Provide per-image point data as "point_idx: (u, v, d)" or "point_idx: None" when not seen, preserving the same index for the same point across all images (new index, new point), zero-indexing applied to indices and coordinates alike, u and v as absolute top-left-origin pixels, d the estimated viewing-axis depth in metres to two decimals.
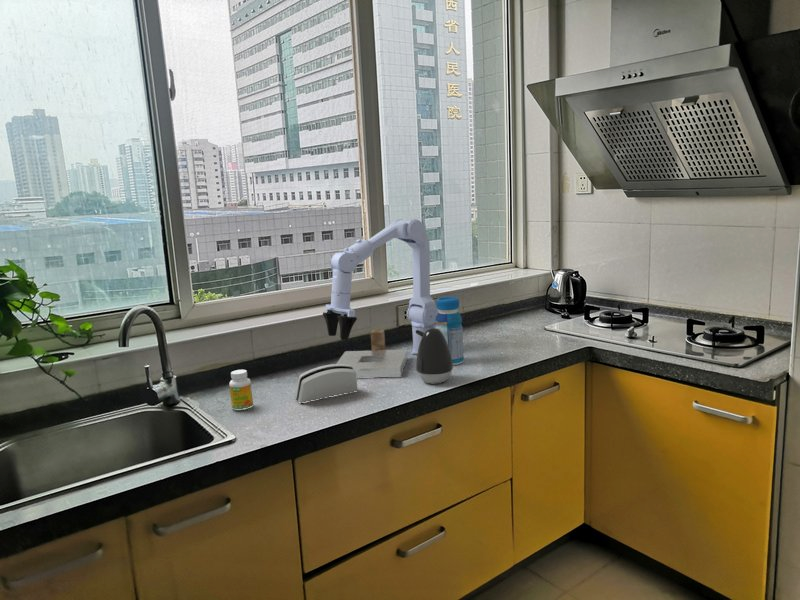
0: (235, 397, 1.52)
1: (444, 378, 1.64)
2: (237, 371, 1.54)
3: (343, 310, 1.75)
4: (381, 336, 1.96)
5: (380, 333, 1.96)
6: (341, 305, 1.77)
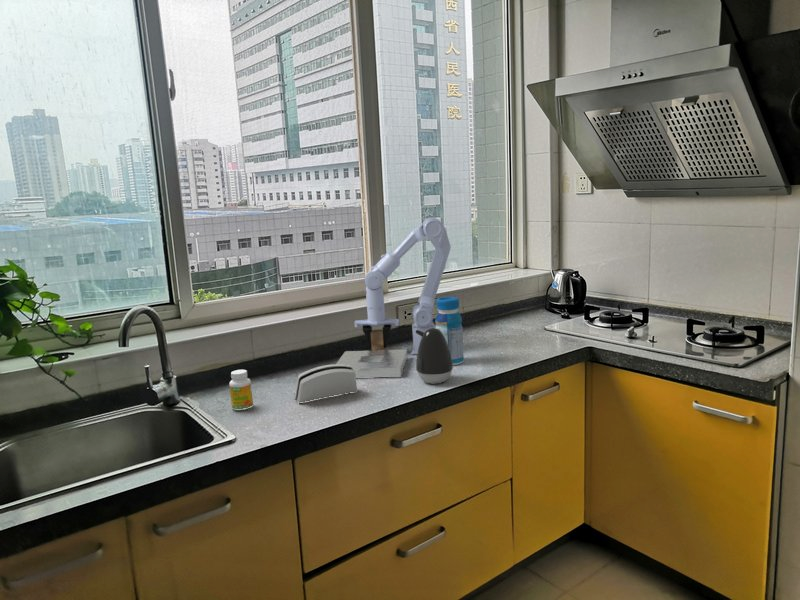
0: (235, 397, 1.52)
1: (444, 378, 1.64)
2: (237, 371, 1.54)
3: (390, 321, 1.95)
4: (381, 336, 1.96)
5: (380, 333, 1.96)
6: (383, 317, 1.96)
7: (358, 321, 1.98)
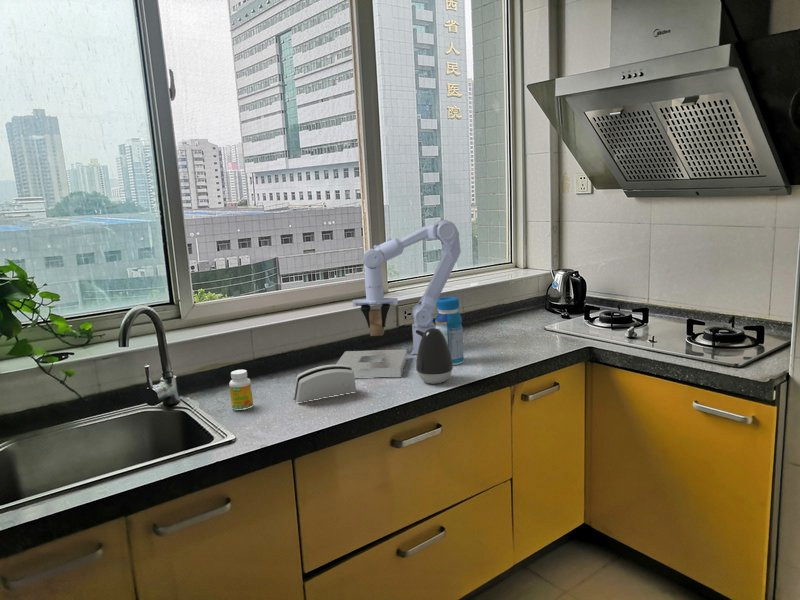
0: (235, 397, 1.52)
1: (444, 378, 1.64)
2: (237, 371, 1.54)
3: (388, 300, 1.94)
4: (379, 315, 1.94)
5: (378, 312, 1.94)
6: (382, 296, 1.94)
7: (356, 300, 1.96)
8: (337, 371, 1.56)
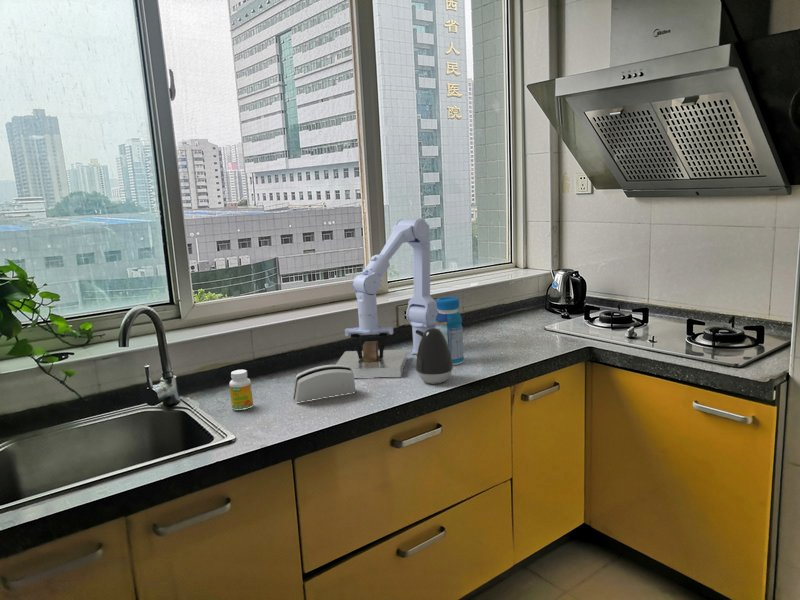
0: (235, 397, 1.52)
1: (444, 378, 1.64)
2: (237, 371, 1.54)
3: (383, 330, 1.79)
4: (374, 348, 1.81)
5: (373, 345, 1.80)
6: (376, 325, 1.80)
7: (349, 329, 1.82)
8: (336, 371, 1.56)
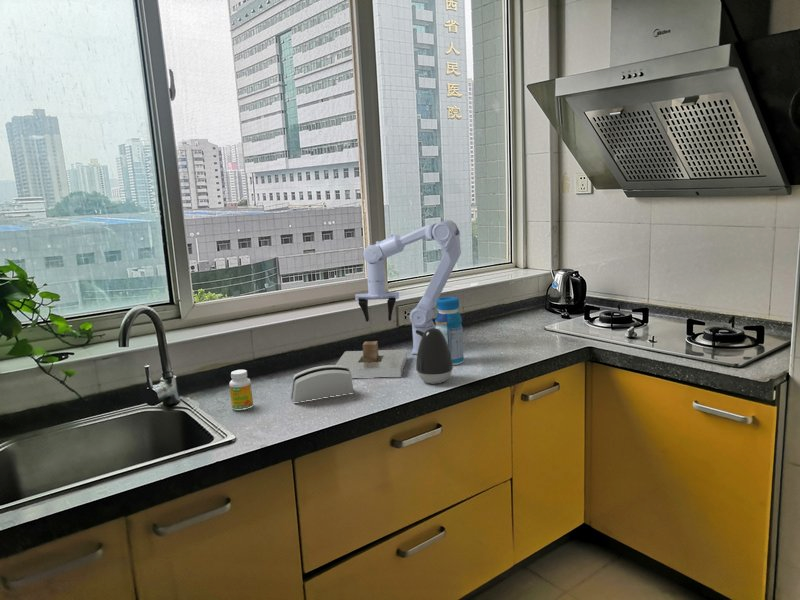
0: (235, 397, 1.52)
1: (444, 378, 1.64)
2: (237, 371, 1.54)
3: (390, 294, 1.99)
4: (374, 348, 1.81)
5: (373, 345, 1.80)
6: (383, 291, 1.99)
7: (359, 294, 2.01)
8: (333, 372, 1.56)
